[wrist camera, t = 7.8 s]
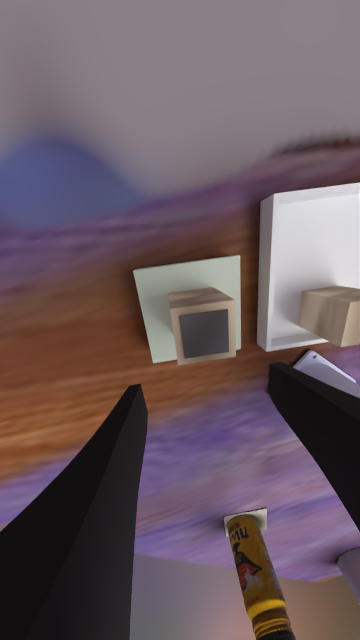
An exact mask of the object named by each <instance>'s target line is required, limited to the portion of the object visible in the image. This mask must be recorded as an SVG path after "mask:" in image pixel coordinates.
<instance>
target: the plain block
mask: <svg viewBox="0 0 360 640" xmlns="http://www.w3.org/2000/svg"><path fill="white" fill-rule="evenodd" d="M298 326H299V327H301V328H303V329H305V330H307V331H309V332H311V333H313V334H315V335H317V336H319V337H321V338H323V339H325V340H327V341H329V342H331V343H333V344H335V345H337V346H339V347H345V346H351V345H357V344H360V289H357V288H351V287H344V286H332V287H325V288H319V289H312V290H306V291H302V295H301V304H300V313H299V321H298Z"/></svg>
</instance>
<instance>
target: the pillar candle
mask: <svg viewBox="0 0 360 640" xmlns="http://www.w3.org/2000/svg"><path fill="white" fill-rule="evenodd" d="M337 564H338V566H339V568H340V570H341V572H342V573H343V575H344V577H345V579H346V580H347V582H348V584H349V585H350V588H351V589H352V591H353V593H354V595H355V596H356V598H357V600H358V602H359V604H360V548H356V549H352V550H349V551H347V552H346V553H344V554H342V555H341V556H339V558H338V562H337Z"/></svg>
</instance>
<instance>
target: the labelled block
mask: <svg viewBox="0 0 360 640" xmlns="http://www.w3.org/2000/svg"><path fill="white" fill-rule="evenodd" d="M168 296H169V304H170V312H171V319H172V326H173V333H174V340H175V347H176V354H177V360H178V365H184V364H190V363H197V362H203V361H210V360H216V359H223V358H229V357H236V308H235V299H233V298H231V297H230V296H228V295H226V294H224V293H223V292H221V291H219V290H217V289H216V288H214V287H210V288H203V289H196V290H188V291H181V292H173V293H168Z"/></svg>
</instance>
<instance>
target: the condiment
mask: <svg viewBox="0 0 360 640" xmlns="http://www.w3.org/2000/svg"><path fill="white" fill-rule="evenodd" d="M256 515H257V516H256ZM266 516H267V508H266V509H262V510H258V511H252V512H245V513H240V514H235V515H231V516H226V517H225V518H224V524H225V531H226V537H228V536H229V539H230V543H231V547H232V551H233V555H234V560H235V564H236V569H237V573H238V577H239V581H240V585H241V589H242V594H243V598H244V603H245V607H246V611H247V614H248V616H249V618H250V619H251V621H252V624H253V631H254V633H255V637H256V640H296V639H295V636H294V634H293V632H292V629H291V627H290V626H291V624H290V620H289V618H288V615H287V613H286V603H285V599H284V597H283V593H282V591H281V588H280V585H279V582H278V580H277V577H276V574H275V571H274V568H273V565H272V562H271V560H270V557H269V554H268V551H267V548H266V545H265V542H264V540H263V537H262V534H261V531H260V530H264V529H267V524H266V523H267V521H266V518H267V517H266Z"/></svg>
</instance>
